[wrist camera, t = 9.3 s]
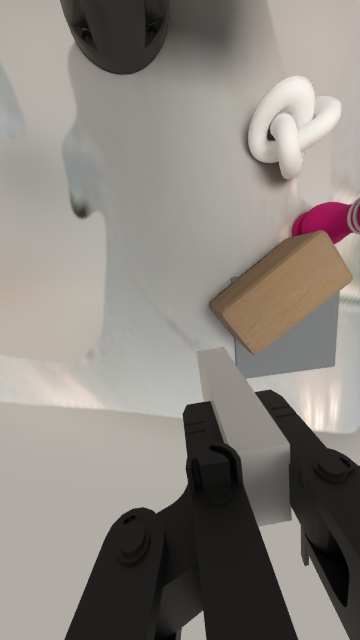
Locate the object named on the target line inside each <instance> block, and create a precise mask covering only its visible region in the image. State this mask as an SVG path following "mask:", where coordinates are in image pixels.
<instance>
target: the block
mask: <svg viewBox="0 0 360 640" xmlns="http://www.w3.org/2000/svg"><path fill="white" fill-rule="evenodd" d="M352 279H353V276H352V274H351V272H350V271H349V269H348V267H347V266H346V264H345V262H344V261H343V259H342V257H341V256H340V254H339V252H338V251H337V249H336V247H335V246H334V244H333V242H332V241H331V239H330V237H329V236H328V234H327V233H326V232H325V231H323V230H320V231H316V232H312V233H307V234H303V235H299V236H295V237H291V238H288V239H286V240H285V241H284V242H283V243H281V244H280V245H279V246H278V247H277V248H275V249H274V250H273V251H272V252H271V253H269V254H268V255H267V256H266V257H265V258H263V259H262V260H261V261H260V262H259V263H257V264H256V265H255V266H254V267H253V268H251V269H250V270H249V271H248V272H246V273H245V274H244V275H243V276H242V277H240V278H239V279H238V280H237V281H236V282H234V283H233V284H232V285H231V286H230V287H228V288H227V289H226V290H225V291H224V292H222V293H221V294H220V295H219V296H218V297H216V298H215V299H214V300H213V301H212V302H211V304H210V307H211V309H212V310H213V312H214V313H215V314H216V315H217V316H218V318H219V319H220V320H221V321H222V323H223V324H224V325H225V326H226V327H227V329H228V330H229V331H230V332H231V334H232V335H233V336H234V337H235V338H236V339H237V340H238V341H239V342H240V343H241V344H242V345H243V346H244V347H245V348H246V349H247V350H248V352H249V353H251V354H253V355H256V354H259V353H260V352H261V351H263V350H264V349H265V348H267V347H268V346H269V345H270V344H272V343H273V342H274V341H276V340H277V339H278V338H279V337H281V336H282V335H283V334H285V333H286V332H287V331H288V330H290V329H291V328H292V327H294V326H295V325H296V324H297V323H299V322H300V321H301V320H303V319H304V318H305V317H306V316H308V315H309V314H310V313H312V312H313V311H314V310H316V309H317V308H318V307H319V306H321V305H322V304H323V303H325V302H326V301H327V300H328V299H330V298H331V297H332V296H334V295H335V294H336V293H337V292H339V291H340V290H341V289H343V288H344V287H345V286H346V285H348V284H349V283H350V282H351V281H352Z"/></svg>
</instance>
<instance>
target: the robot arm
mask: <svg viewBox="0 0 360 640" xmlns="http://www.w3.org/2000/svg"><path fill="white" fill-rule="evenodd" d="M60 2H61V5H62V9H63V12H64V15H65V18H66V20H67V23H68V25H69V28H70V30H71V33H72V35H73V37H74V39H75V41H76V43H77V45H78V46H79V48H80V49H81V50H82V52H83V53H84V54H85V55H86V56H87V57H88V58H89V59H90V60H91V61H92V62H93V63H94V64H96V65H97V66H99V67H100V68H102V69H104V70H107V71H109V72H113V73H118V74H127V73H133V72H136V71H138V70H141V69H142V68H144V67H145V66H147V65H148V64H149V63H150V62H151V61H152V60H153V59H154V58H155V57H156V55H157V54H158V52H159V51H160V49H161V47H162V45H163V42H164V39H165V36H166V32H167V26H168V0H60ZM197 358H198V365H199V372H200V379H201V386H202V393H203V398H204V401H205V402H201V403H195V404H189V405H187V406H186V408H185V410H184V412H183V421H184V429H185V438H186V448H187V457H188V458H187V462H186V473H187V478H188V485H187V488H186V489H185V491H184V493H183V494H182V495H181V497H180V498H179V499H178V500H177V501H176V502H174V503H173V504H172V505H170V506H168V507H167V508H165V509H163V510H161V511H160V512H158V513H157V514H156V513H155V512H154V511H152V510H150V509H147V508H144V507H142V508H135V509H132V510H130V511H128V512H126V513H125V514H123V515H122V516H121V517H120V518H119V519H118V520H117V521H116V522H115V523H114V524H113V525H112V527H111V529H110V531H109V532H108V534H107V536H106V538H105V540H104V542H103V545H102V547H101V550H100V552H99V555H98V557H97V560H96V562H95V565H94V567H93V570H92V572H91V575H90V577H89V580H88V582H87V585H86V587H85V590H84V592H83V595H82V597H81V600H80V602H79V605H78V607H77V610H76V612H75V615H74V617H73V620H72V622H71V625H70V627H69V630H68V632H67V635H66V637H65V640H181V630H182V627H183V626H184V625H185V624H187V623H188V622H189V621H190V620H191V619H193V618H194V617H195V616H197V615H198V614H199V613H200V612H201V611H202V610H203V612H204V621H205V630H206V639H207V640H298V638H297V635H296V632H295V630H294V627H293V624H292V621H291V618H290V615H289V612H288V610H287V607H286V604H285V601H284V598H283V595H282V593H281V590H280V587H279V584H278V581H277V579H276V576H275V573H274V570H273V567H272V564H271V561H270V559H269V556H268V553H267V550H266V547H265V544H264V542H263V539H262V536H261V533H260V530H259V528H258V526H263V525H268V524H274V523H279V522H284V521H290V520H292V517H291V507H292V509H293V511H294V512H295V515H296V516H297V518H298V520H299V522H300V524H301V556H302V559H303V562H304V565H305V566H307V565H309V556H310V559H311V561H312V562H313V565H314V567H315V569H316V571H317V573H318V575H319V577H320V579H321V581H322V583H323V585H324V587H325V589H326V591H327V593H328V595H329V597H330V600H331V602H332V604H333V606H334V608H335V610H336V612H337V614H338V616H339V618H340V620H341V622H342V624H343V626H344V628H345V630H346V632H347V635H348V636H349V639H350V640H360V466H358V465H357V464H355V463H354V462H353V461H352V460H351V459H349V458H348V457H347V456H345V455H344V454H342V453H340V452H337V451H336V450H333V449H329V448H327V447H326V446H325V445H324V444H323V443H322V442H321V441H320V440H319V438H318V437H317V436H316V435H315V434H314V433H313V432H312V430H311V429H310V428H309V427H308V426H307V425H306V423H305V422H304V421H303V420H302V419H301V418H300V417H299V415H297V414H296V412H295V411H294V410H293V408H292V407H290V405H289V404H288V403H287V402H286V400H285V399H284V398H283V397H282V396H281V395H279V394H277V393H276V392H274V391H272V390H265V391H259V392H254V391H253V389H252V388H251V386H250V385H249V384H248V382H247V381H246V379H245V378H244V376H243V375H242V373H241V372H240V370H239V369H238V367H237V366H236V365H235V363H234V362H233V360H232V359H231V357H230V356H229V354H228V353H227V351H226V350H225V348H224V347H222V348H216V349H210V350H204V351H198V352H197Z"/></svg>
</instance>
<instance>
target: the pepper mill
mask: <svg viewBox="0 0 360 640" xmlns="http://www.w3.org/2000/svg"><path fill="white" fill-rule="evenodd" d="M320 230H323V231H325V232H326V233H327V234H328V236H329V237H330V239H331V241H332V242H333V244H336V243H338V242H339V241H341V240H342V239H343V238H345V237H346V236H347V235H348V234H350V233H353V232H354V233H356V234H359V235H360V198H358V199H357V200H356V201H355V202H354V203H353V204H351V205H347V204H343V203H339V202H327V203H323V204H320V205H317V206H315V207H314V208H312V209H311V210H310V211H309V212H307V213H304V214H302V215H301V216H300V217H299V218H298V219H297V220H296V222H295V223H294V226H293V237H295V236H299V235H303V234H307V233H312V232H316V231H320Z"/></svg>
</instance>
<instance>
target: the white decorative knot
mask: <svg viewBox="0 0 360 640" xmlns="http://www.w3.org/2000/svg"><path fill="white" fill-rule="evenodd" d="M287 106H289V107H287ZM284 107H287V108H285V109H283V108H284ZM281 109H283V110H281ZM280 110H281V111H280ZM279 111H280V112H279ZM278 112H279V113H278ZM341 112H342V108H341V103H340V101H339V100H337V99H335V98H334V97H330V96H319V97H315V93H314V90H313V87H312V84H311V82H310V81H309V80H308V79H306V78H305V77H301V76H293V77H288V78H286V79H284V80H282V81H280V82H279V83H278V84H276V85H275V86H274V87H273V88H271V89H270V90H269V91H268V92H267V93H266V95H265V96H264V97H263V99H262V100H261V101H260V103H259V105H258V106H257V108H256V110H255V112H254V114H253V117H252V119H251V122H250V126H249V132H248V144H249V148H250V151H251V153H252V155H253V156H254V157H255V158H256V159H257V160H259V161H261V162H264V163H274V162H278V161H279V165H280V170H281V173H282V176H283V177H284V178H285V179H293V178H295V177H297V176H298V174H299V173H300V172H301V168H302V163H303V157H304V151H305V149H307V148H309V147H311V146H313V145H314V144H316V143H317V142H319V141H320V140H321V139H322V138H324V137H325V136H326V135H327V134H328V133H330V132H331V131H332V129H333V128H334V127H335V126H336V125H337V123H338V121H339V119H340V116H341ZM270 123H271V124H270ZM269 125H270V133H271V134H272V135H273V136H274V138H275V141H269V140H268V139H267V132H268V128H269Z"/></svg>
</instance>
